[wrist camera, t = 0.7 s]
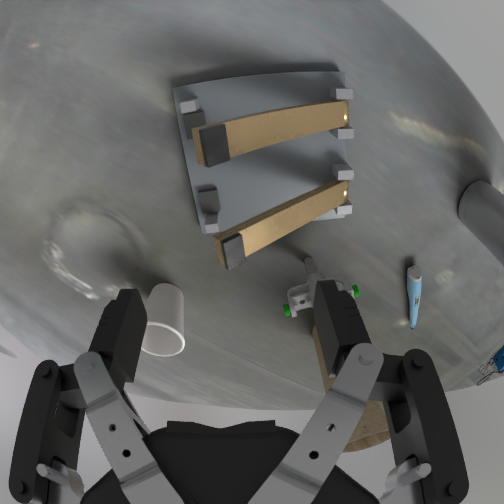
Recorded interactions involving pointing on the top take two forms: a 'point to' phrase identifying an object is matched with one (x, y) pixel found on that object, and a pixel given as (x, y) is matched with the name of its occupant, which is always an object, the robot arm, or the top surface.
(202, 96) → the mount plate
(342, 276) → the mechanical component
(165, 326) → the dixie cup
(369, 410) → the tube
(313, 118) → the strap front
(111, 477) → the robot arm
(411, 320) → the 3d printing pen
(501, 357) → the soldering iron
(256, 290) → the top surface
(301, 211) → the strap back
